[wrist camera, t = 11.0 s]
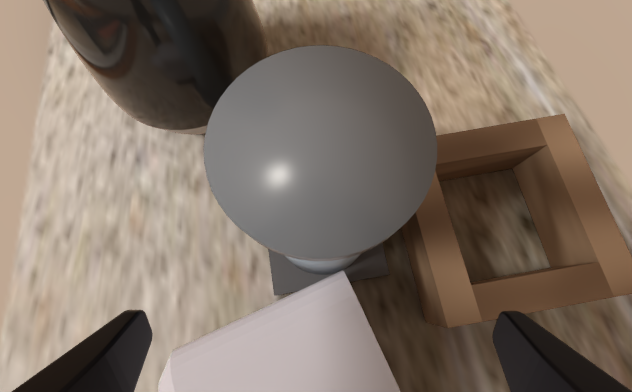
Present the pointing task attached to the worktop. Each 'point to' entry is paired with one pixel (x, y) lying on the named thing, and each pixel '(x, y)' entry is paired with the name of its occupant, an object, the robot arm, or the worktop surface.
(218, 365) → the charger
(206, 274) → the worktop surface
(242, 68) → the dark egg-shaped device
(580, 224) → the block
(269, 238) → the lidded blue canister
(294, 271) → the rubber mat
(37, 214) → the worktop surface
